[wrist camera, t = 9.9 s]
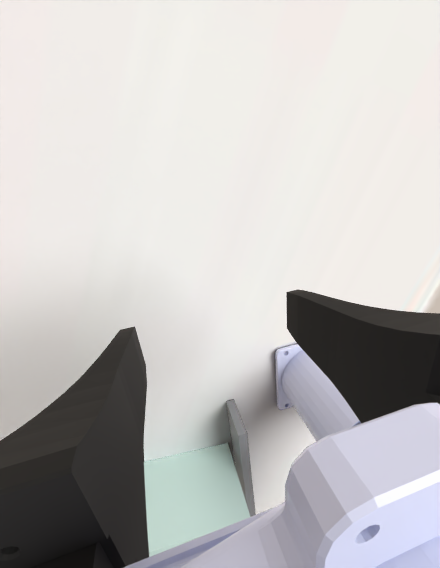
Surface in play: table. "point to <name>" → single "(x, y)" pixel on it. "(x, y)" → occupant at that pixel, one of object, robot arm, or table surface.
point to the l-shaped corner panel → (191, 496)
